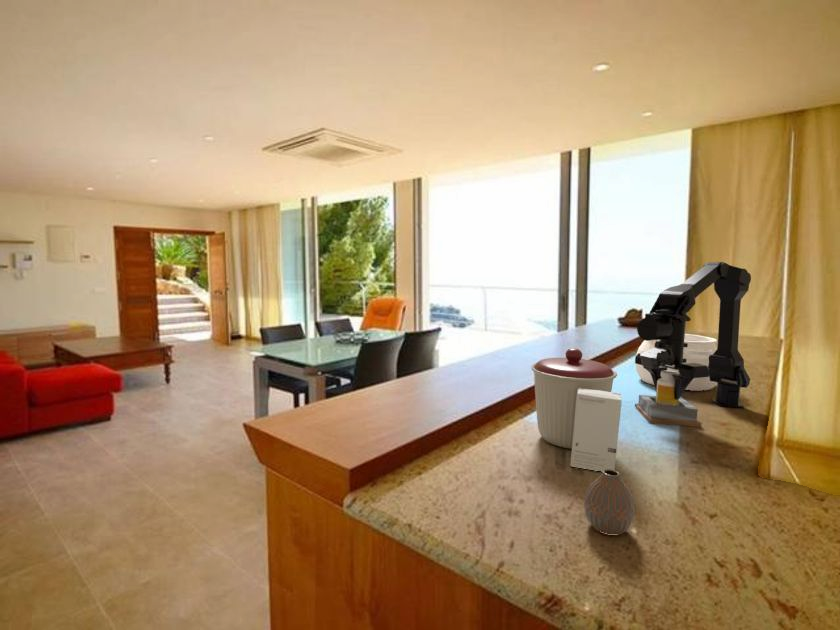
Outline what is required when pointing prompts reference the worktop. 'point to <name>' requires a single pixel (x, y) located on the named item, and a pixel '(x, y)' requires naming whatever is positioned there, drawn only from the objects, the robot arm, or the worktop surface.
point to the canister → (565, 392)
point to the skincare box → (595, 429)
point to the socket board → (667, 412)
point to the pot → (693, 353)
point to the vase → (609, 503)
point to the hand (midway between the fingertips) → (667, 396)
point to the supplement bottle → (666, 389)
